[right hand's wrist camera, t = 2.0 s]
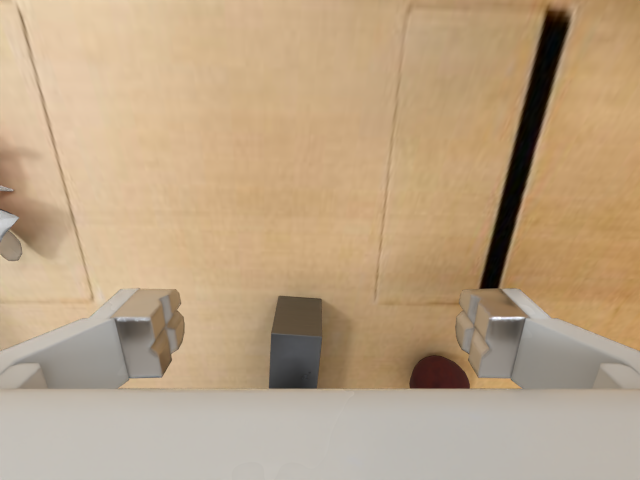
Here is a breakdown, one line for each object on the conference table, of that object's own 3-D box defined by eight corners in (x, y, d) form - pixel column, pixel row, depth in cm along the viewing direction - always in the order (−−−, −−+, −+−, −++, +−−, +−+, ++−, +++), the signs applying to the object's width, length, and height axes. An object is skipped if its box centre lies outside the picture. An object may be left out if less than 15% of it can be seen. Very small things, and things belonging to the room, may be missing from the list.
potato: (415, 396, 50) (430, 441, 43) (395, 356, 47) (407, 397, 41) (465, 378, 49) (488, 420, 42) (447, 336, 46) (468, 374, 40)
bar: (278, 295, 44) (271, 333, 37) (321, 298, 44) (322, 336, 37) (271, 434, 53) (264, 488, 45) (307, 436, 53) (306, 490, 45)
